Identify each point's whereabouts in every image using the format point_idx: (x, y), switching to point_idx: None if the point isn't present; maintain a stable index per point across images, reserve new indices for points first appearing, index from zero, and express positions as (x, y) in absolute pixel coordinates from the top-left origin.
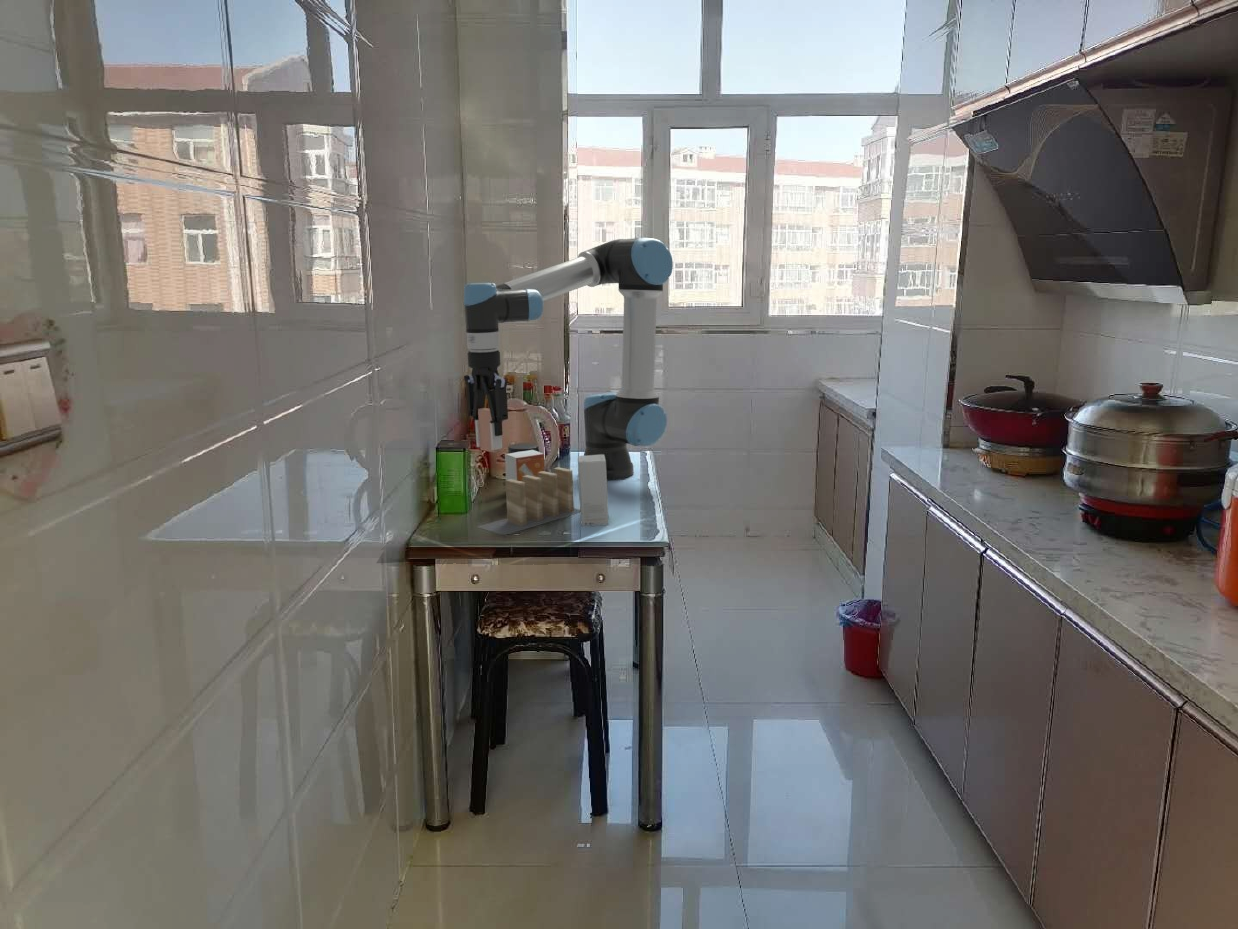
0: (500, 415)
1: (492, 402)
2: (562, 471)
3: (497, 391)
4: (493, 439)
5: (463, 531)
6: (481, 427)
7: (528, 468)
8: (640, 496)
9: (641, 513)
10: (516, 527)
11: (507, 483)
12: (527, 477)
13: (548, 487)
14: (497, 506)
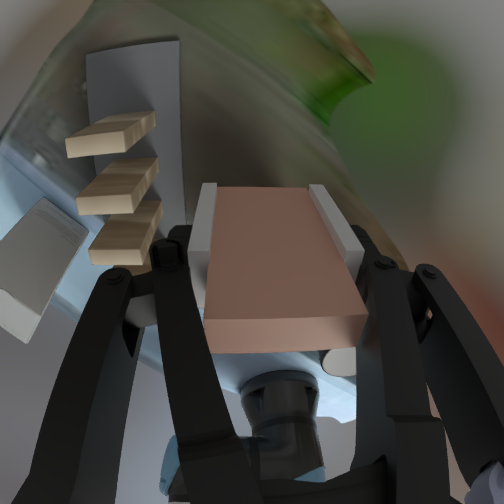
0: (92, 295)
1: (165, 376)
2: None
3: (44, 457)
4: (198, 206)
5: (193, 14)
6: (312, 239)
7: None
8: (144, 353)
9: (66, 301)
10: (107, 100)
11: (116, 130)
12: (108, 196)
13: (112, 231)
14: (292, 184)
